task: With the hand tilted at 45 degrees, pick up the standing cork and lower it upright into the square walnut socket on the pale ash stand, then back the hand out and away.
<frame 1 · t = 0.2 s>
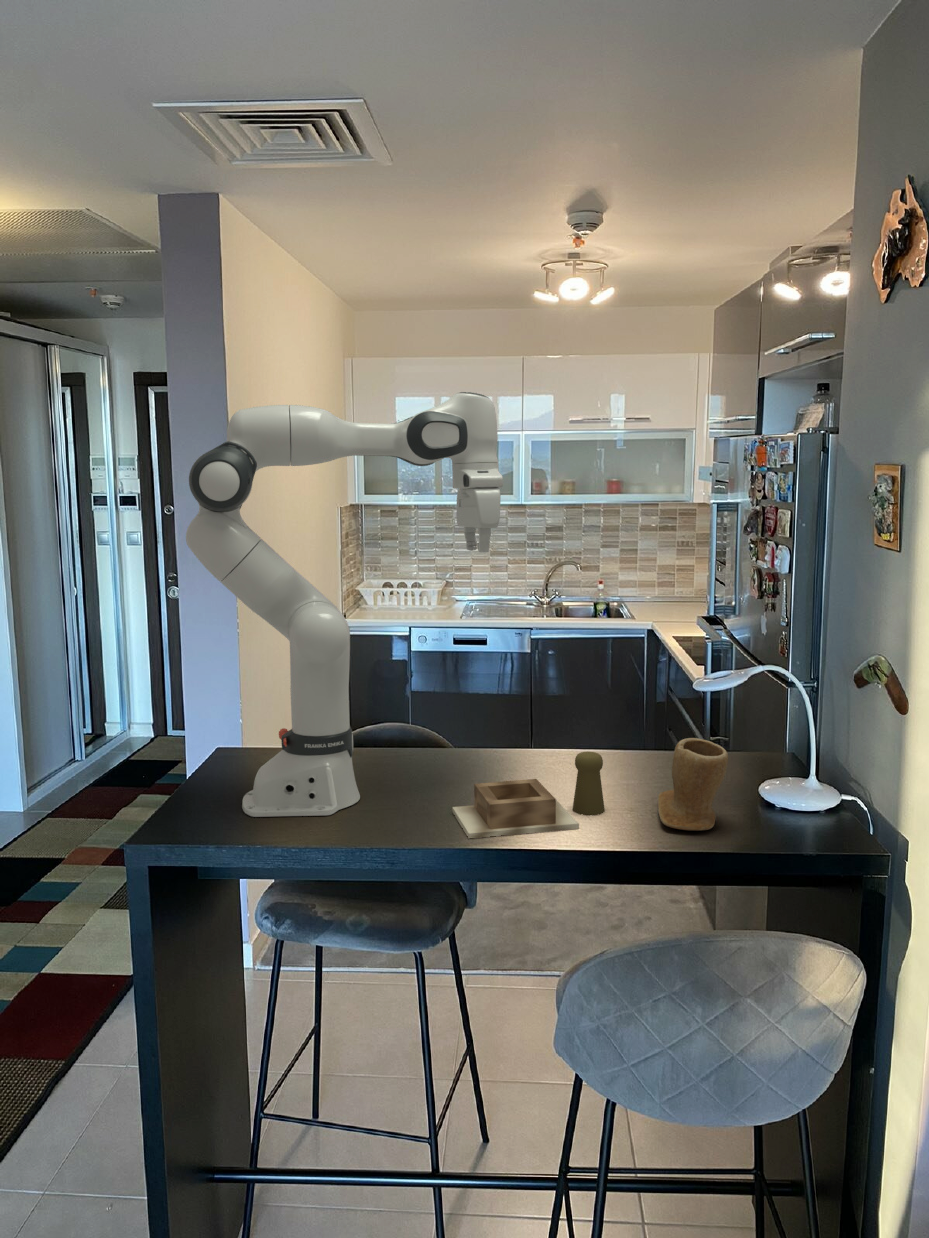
hand: (477, 551, 186), 48 cm above the table, tool pointing down, fingers open, 8 cm apart
cruet stand: (514, 820, 175), on the table
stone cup: (691, 821, 174), on the table
cork: (588, 810, 180), on the table
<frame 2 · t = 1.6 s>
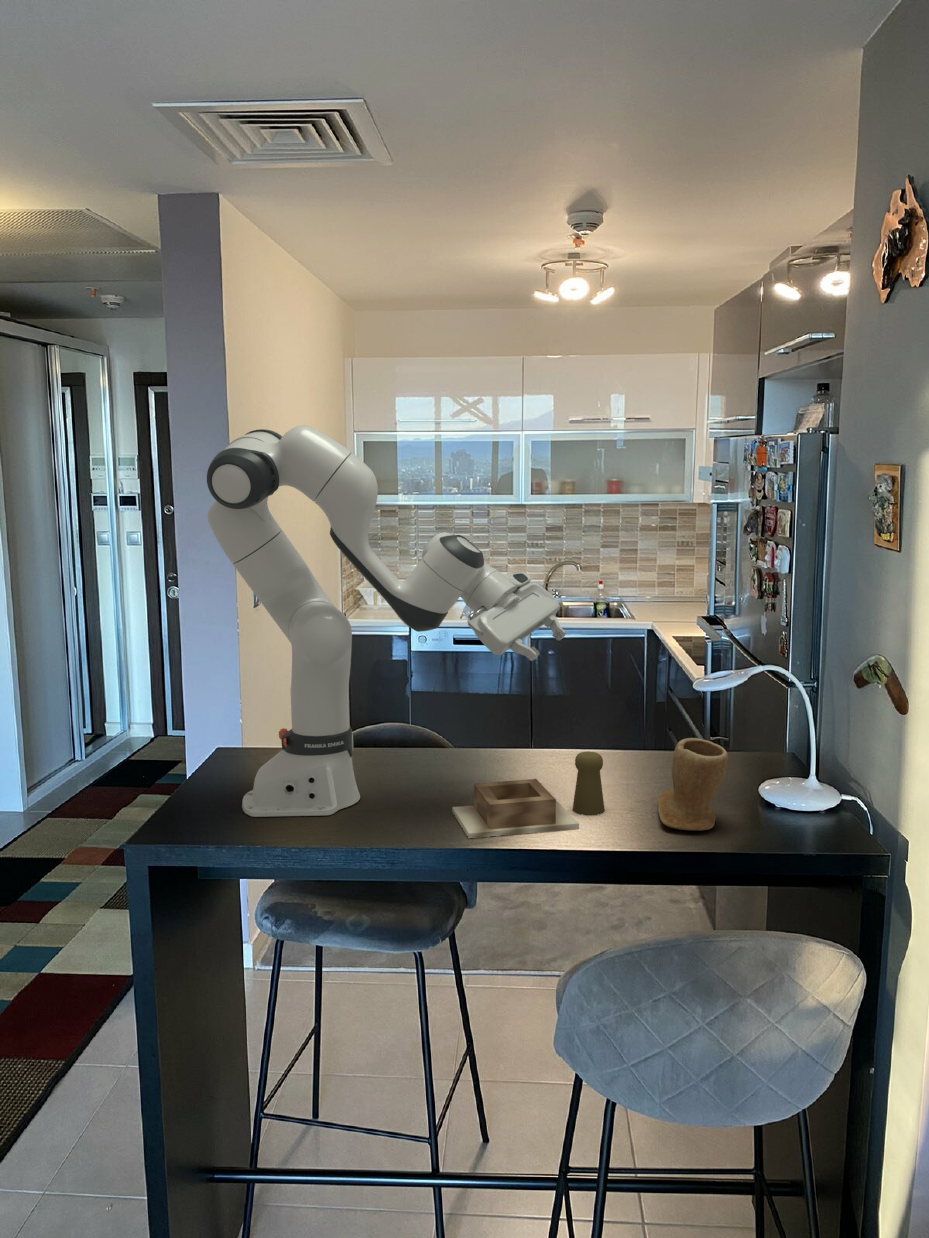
hand: (549, 647, 177), 31 cm above the table, tool tilted 50°, fingers open, 8 cm apart
nothing on the table moved.
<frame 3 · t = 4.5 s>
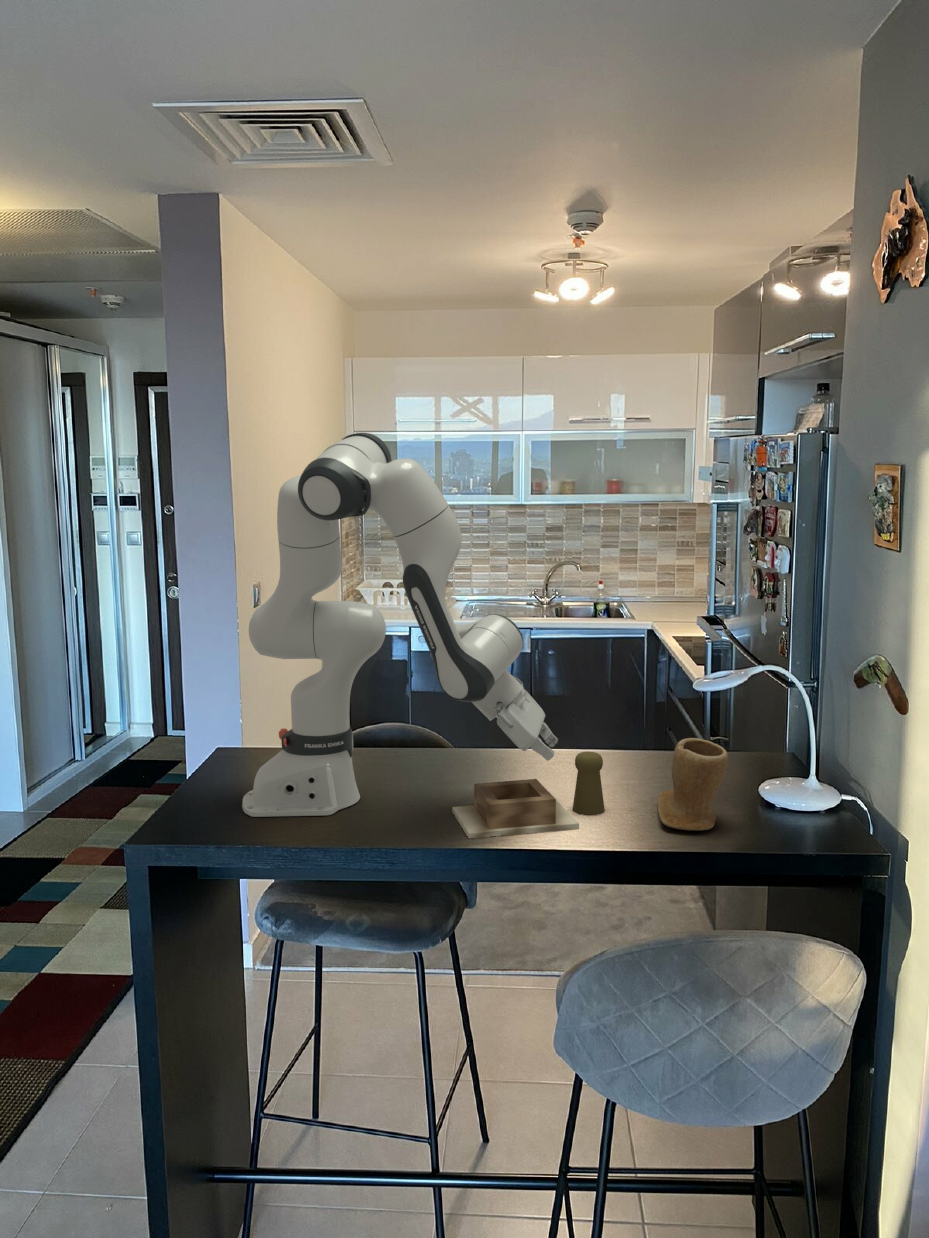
hand: (553, 750, 178), 12 cm above the table, tool tilted 45°, fingers open, 8 cm apart
nothing on the table moved.
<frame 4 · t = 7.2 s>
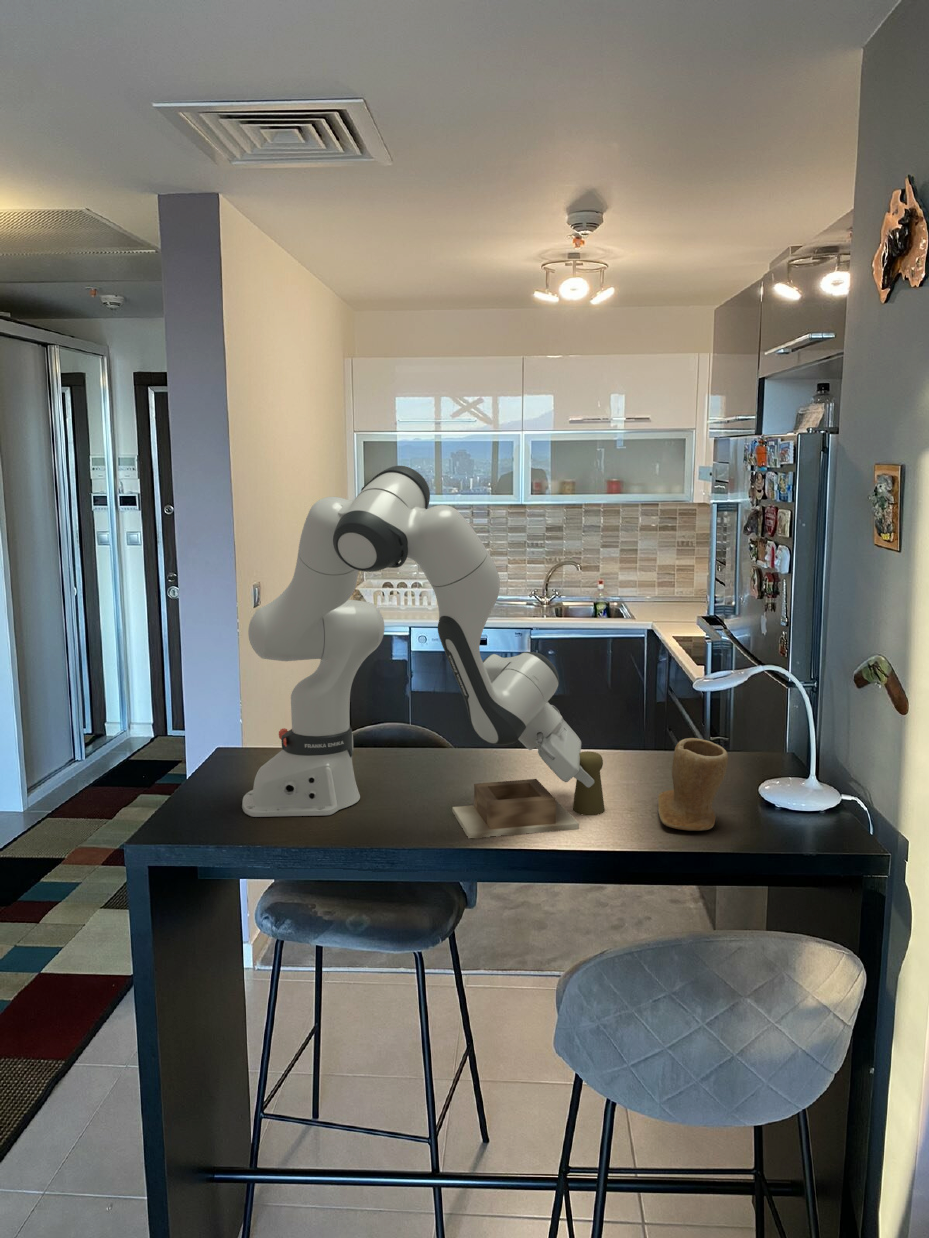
hand: (592, 779, 179), 6 cm above the table, tool tilted 45°, fingers closed on cork, 4 cm apart
cork: (588, 810, 180), on the table, touching gripper
everything else where it was.
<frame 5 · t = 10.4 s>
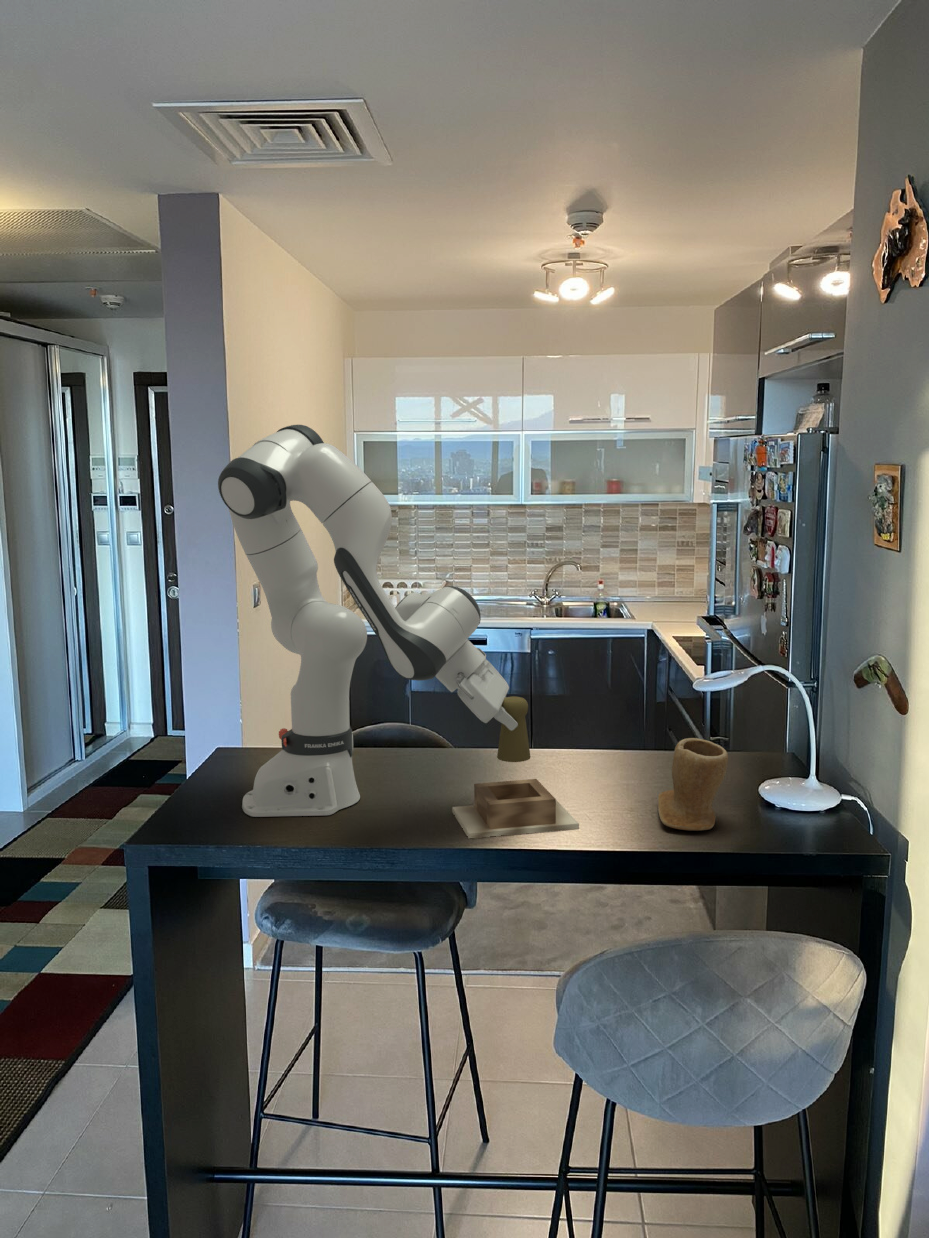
hand: (516, 723, 173), 18 cm above the table, tool tilted 45°, fingers closed on cork, 4 cm apart
cork: (513, 758, 174), point 12 cm above the table, touching gripper
everything else where it was.
when the fingers open (8 cm above the table, at t = 13.6 s): cork stays where it is, resting on cruet stand.
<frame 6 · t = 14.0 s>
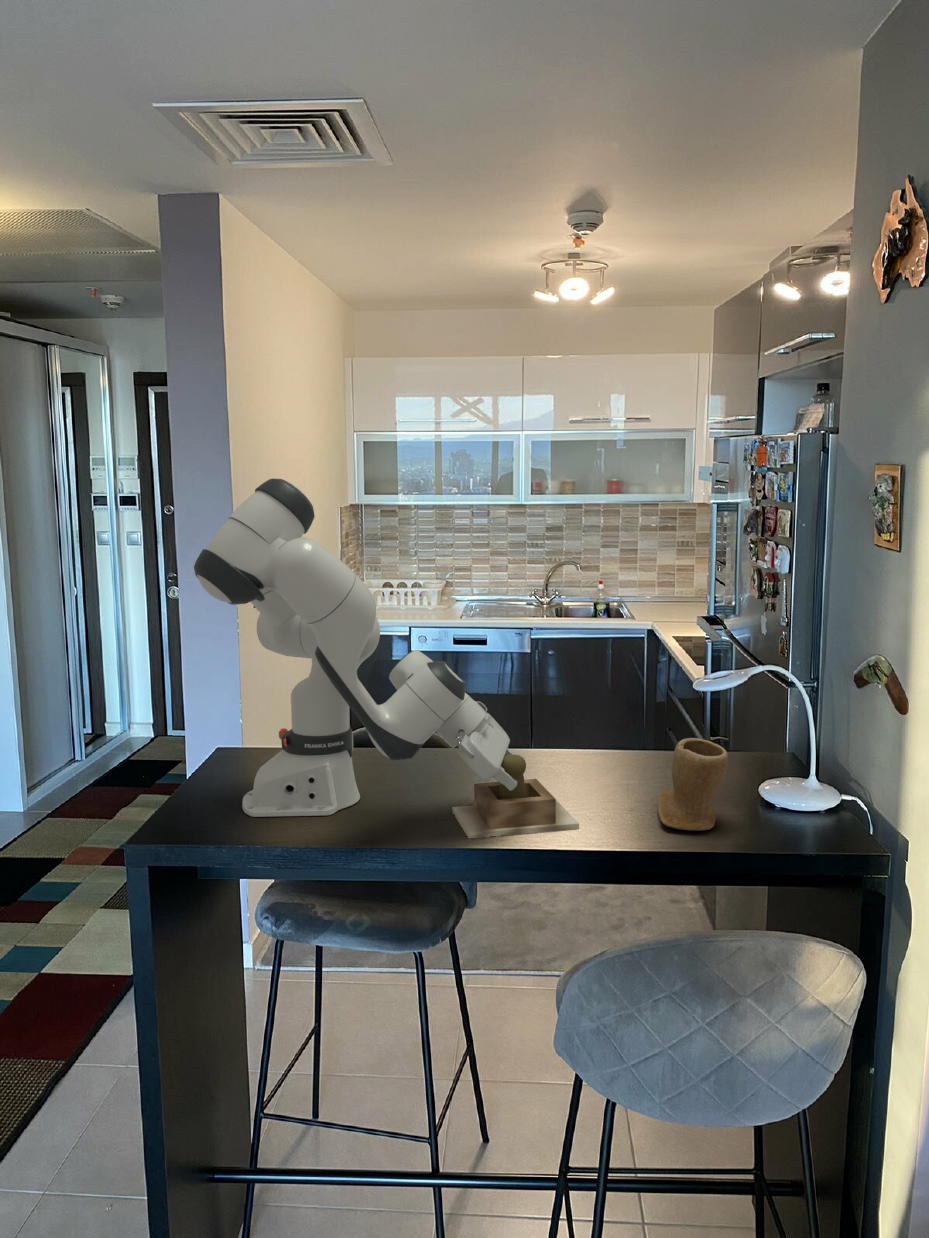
hand: (517, 778, 174), 8 cm above the table, tool tilted 45°, fingers open, 8 cm apart
cork: (513, 815, 175), point 1 cm above the table, touching cruet stand
everything else where it was.
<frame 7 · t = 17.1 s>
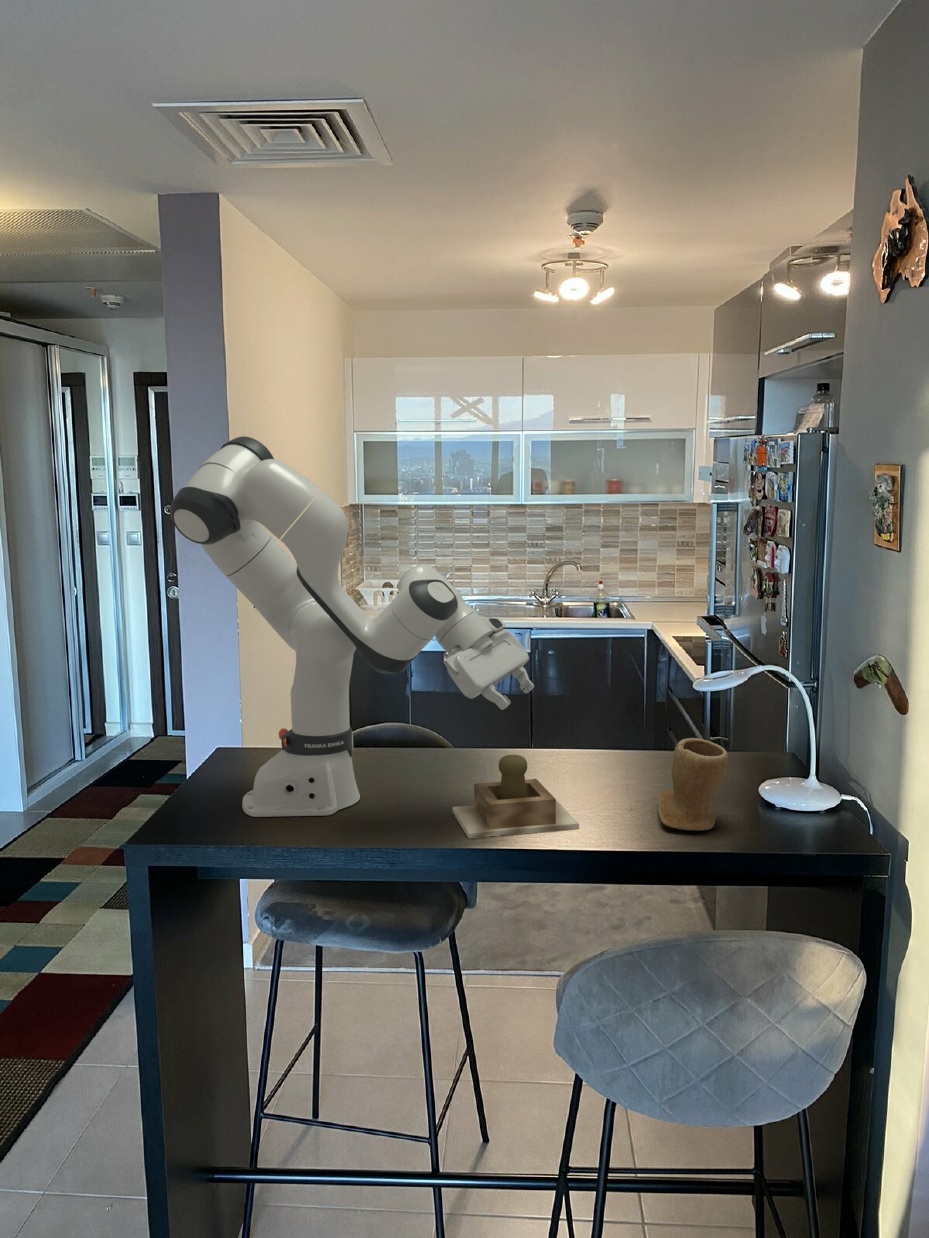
hand: (518, 698, 171), 23 cm above the table, tool tilted 45°, fingers open, 8 cm apart
nothing on the table moved.
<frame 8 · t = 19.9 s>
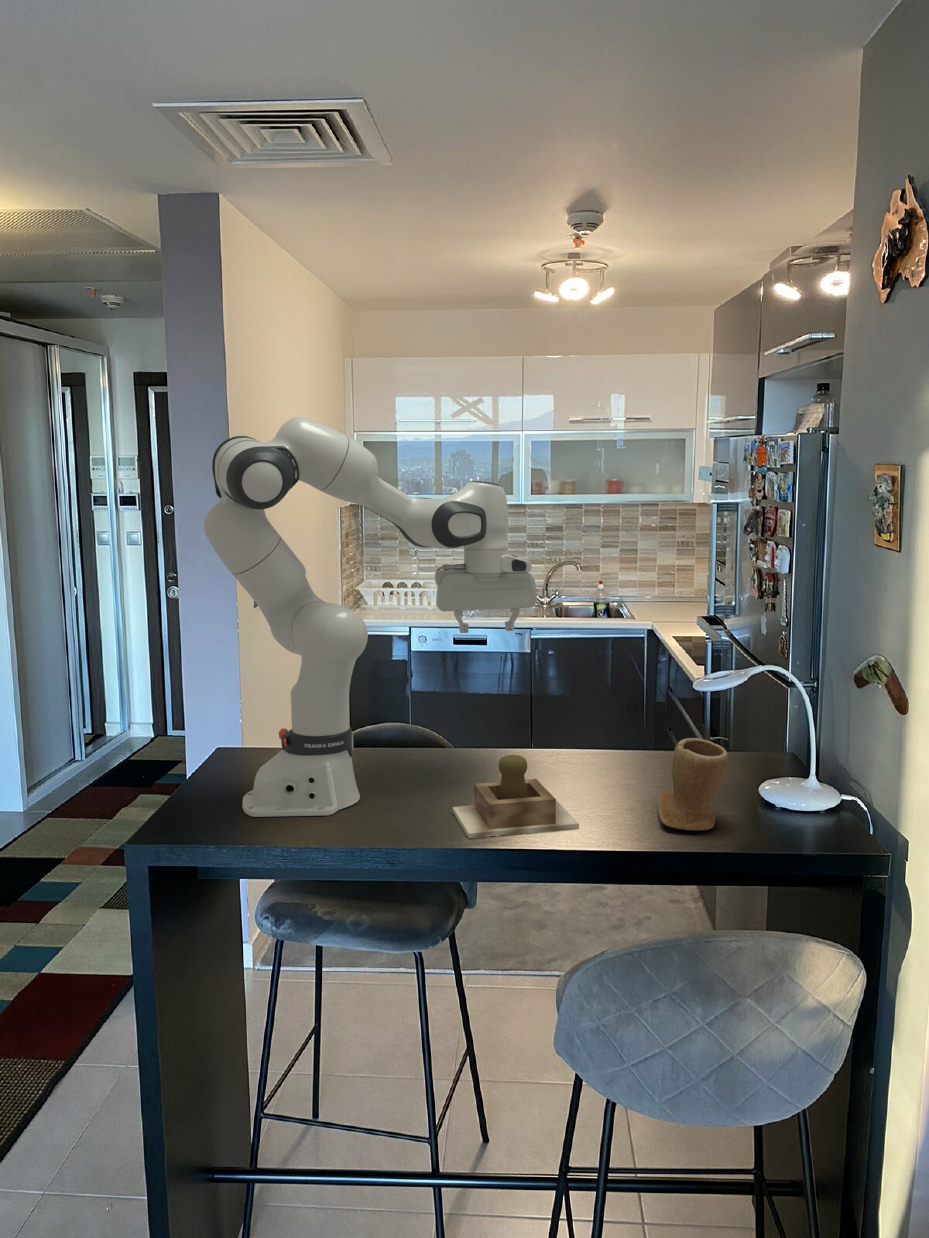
hand: (486, 631, 194), 31 cm above the table, tool pointing down, fingers open, 8 cm apart
nothing on the table moved.
at the end: cork 0.2 cm off-centre on the cruet stand, point 0.8 cm above the cruet stand's base; cork tilted 0°; the gripper is holding nothing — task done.
